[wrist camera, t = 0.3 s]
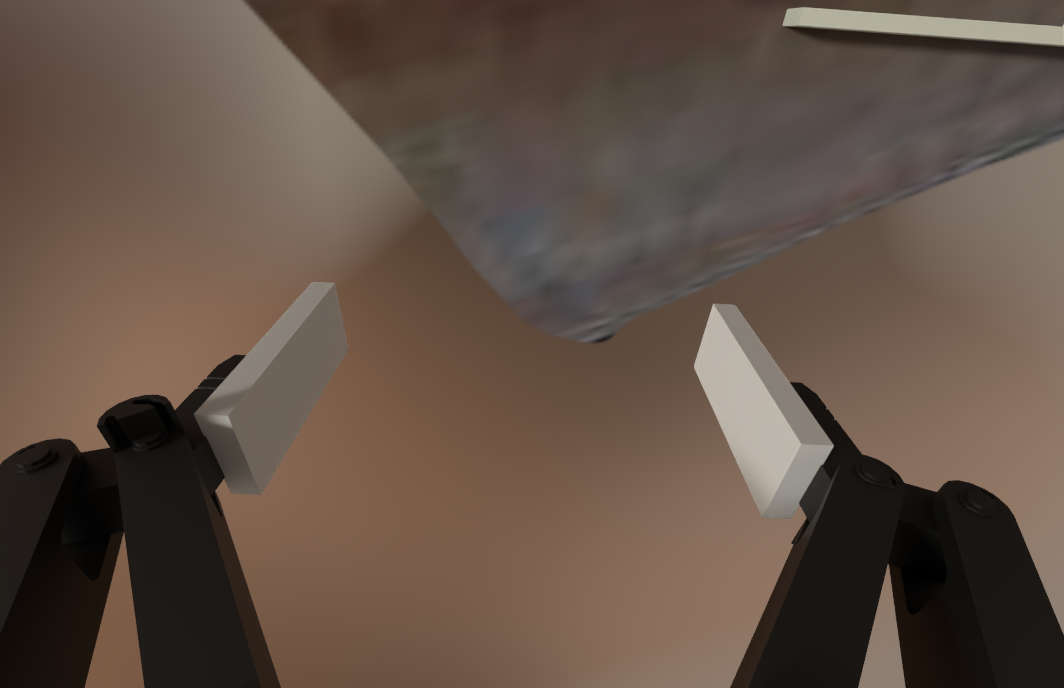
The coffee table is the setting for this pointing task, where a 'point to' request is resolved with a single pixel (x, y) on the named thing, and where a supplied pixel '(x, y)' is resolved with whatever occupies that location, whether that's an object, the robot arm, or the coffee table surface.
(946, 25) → the docking bay
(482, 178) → the coffee table surface
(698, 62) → the coffee table surface
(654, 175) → the coffee table surface
